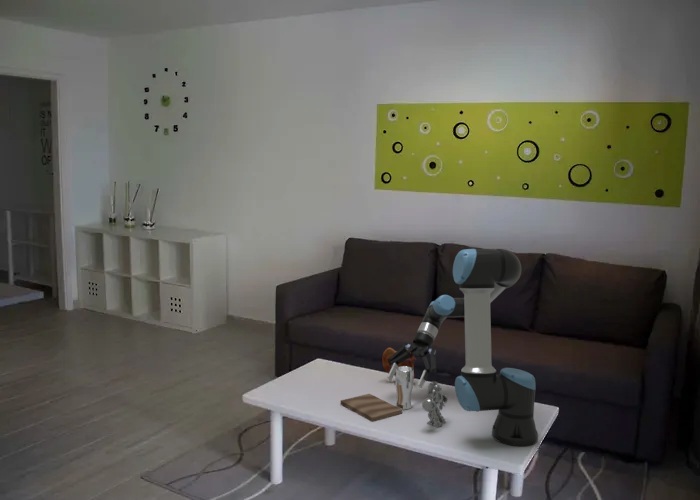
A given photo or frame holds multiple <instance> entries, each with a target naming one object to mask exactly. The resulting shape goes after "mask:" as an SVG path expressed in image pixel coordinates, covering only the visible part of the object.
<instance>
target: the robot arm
mask: <svg viewBox="0 0 700 500" xmlns="http://www.w3.org/2000/svg"><path fill="white" fill-rule="evenodd" d="M454 258H455V259H454V261H453V266H452V277H453V280H454V282H455V284H457V285H459V287H458V288H459V291H461V292H462V294H463V295H464V296H463V297H452V296H450V295H448V294H442V295H440V296H438V297H437V298H436V299H435V300H433V301H431V302H430V304H429V306H428V307H427V309H426V312H425V314H424V316H423V319H422V321H421V323H420V325H419V327H418V329H417V331H416V332H417V333H416V334H415V335H414V337H413V340H412V343H411V344H409V343H408V342H406V341H405V342H403V345H401V347H400V348H398V350H396V351H397V352H396V353H395V354H393V355H392V356H391V357H390V358H389V359H388V360H389V362H390V365H391V366H390V368H389V370H390V372H389V373H387V379H388V380H389V381H390V382H391V381H392V380H393V378H394V377H395V376H394V374H395V372H396V368H397V367H398V366H397V365H398V364H399V363H401V362H403V361H404V360H406V359H408V358H409V357H412V356H414V357H415V358H418V359H421V358H422V361H423V363H424V366H425V369H424V370H423V371H422V374H421V377H420V379H419V380H418V383H417V386H418V388H419V389H421V390H422V389H423V386H424V384H425V382H427V381H428V380H429V377H430V375H431V374H436V373H437V363H436V356H437V350H436V349H435V347H432V346H433V344H434V341H435V339H436V337H437V335H438V333H439V330H440V328H441V325H442V324H443V322H444V321H445V320H446V319H447V318H464V347H465V349H464V352H465V357H464V358H465V365H464V366H463V367H462V368H461V369H460V370H461V371H460V375H458V376H457V377H456V378H455V381H454V389H455V390H454V391H455V395H456V399H457V401H458V403H459V405H460V407H461V408H462V409H463V410H464V411H467V412H482V411H483V412H484V411H486V412H487V411H488V412H489V411H497V415H496V418H495V421H494V423H493V425H492V428H491V436H492V437H493V439H495V440H496V441H498V442H500V443H502V444H505V445H508V446H517V447H528V446H531V445H534V444H536V443H537V442H538V435H539V433H538V430H537V428H536V426H537V425H536V423H535V418H534V411H535V398H536V390H537V389H536V388H537V387H536V378H535V377H534V375H533V374H531V373H530V372H528V371H526V370H522V369H518V368H514V367H504V368H501V369H500V372H499V374H497V369H495V367H494V366H493V365H492V332H491V331H492V328H491V327H492V325H491V321H492V320H491V319H492V318H491V303H492V302H493V301H494V300H495V299H496V298H498V296H499V295H501V294H502V292H504V290H506V289H508V288H510V287H513V286H514V285H515V284H516V283H517V282H518V280H519V279H520V277H521V275H522V264H521V261H520V259H519V258H518V256H517V255H516V254H515V253H514V252H512V251H510V250H507V249H504V248H467V249H465V248H464V249H461V250H460V251H458V253H457V254H456V256H455V257H454ZM410 352H411V354H410ZM428 354H429V355H430V363H429V361H428V358H427V355H428Z"/></svg>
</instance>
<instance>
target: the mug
mask: <svg viewBox="0 0 700 500" xmlns="http://www.w3.org/2000/svg"><path fill="white" fill-rule="evenodd" d="M397 351H398V350H395V349H394V348H392V347H387V348H386V349H385V350H384V351H383V353H382V358H381V359H382V360H381V362H382V367H383V368H384V370H385V372H386V373H387V374H389V372H390V370H389V368H390V366H391V363H390V360H389V358H390V357H391V356H392V355H393V354H395V353H396V352H397ZM410 354H411V352H410ZM416 361H417V357H414V356H412V357H409V358H408V359H406V360H404V361H403V362H401V363H399V364H398V365H397V366H398V367H400V366H408V367H412V368H413V369H414V367H415V362H416ZM414 371H415V369H414V370H413V372H414ZM393 377H396V372H395V374H394V376H393ZM416 378H417V375H416V374H415V372H414V379H416Z"/></svg>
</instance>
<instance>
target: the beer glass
mask: <svg viewBox="0 0 700 500" xmlns="http://www.w3.org/2000/svg"><path fill="white" fill-rule="evenodd" d="M413 370H414V371H415V369H413V368H412V367H408V366H400V367H397V368H396V377H395V376H394V377H395V379H394V381H395V382H394V383H395V389H396V390H395V391H396V402H395V406H396V407H398V408H400V409H402V410H410V409H412V406H413V405H412V394H413V393H412V392H413V388H414V384H415V383H414V382H415V378H414V374H415V372H413Z"/></svg>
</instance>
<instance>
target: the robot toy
mask: <svg viewBox="0 0 700 500" xmlns="http://www.w3.org/2000/svg"><path fill="white" fill-rule="evenodd" d="M442 389H443V387H442V386H441V385H440V384H438V382H437V381H436V380H435V381H431V382H429V383H428V386H427V389H426V390H427V394H428V395H429V397H427V398H424V399H423V401H422V403H421V406H422V409H423V410H424V411H426V412H428V413H427V417H428V419H429V421H428V422H426V424H427V425H430V426H433V427H436V428H440V427H442V426H443V425H445V423H446V421H445V420H446V418H444V415H442V412H441V411H442V410H443V408H444V407H445V403H446V402H447V401H448V396H447V395H446V394H444V392H443V391H442ZM438 404H439V406H438ZM442 424H443V425H442Z"/></svg>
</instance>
